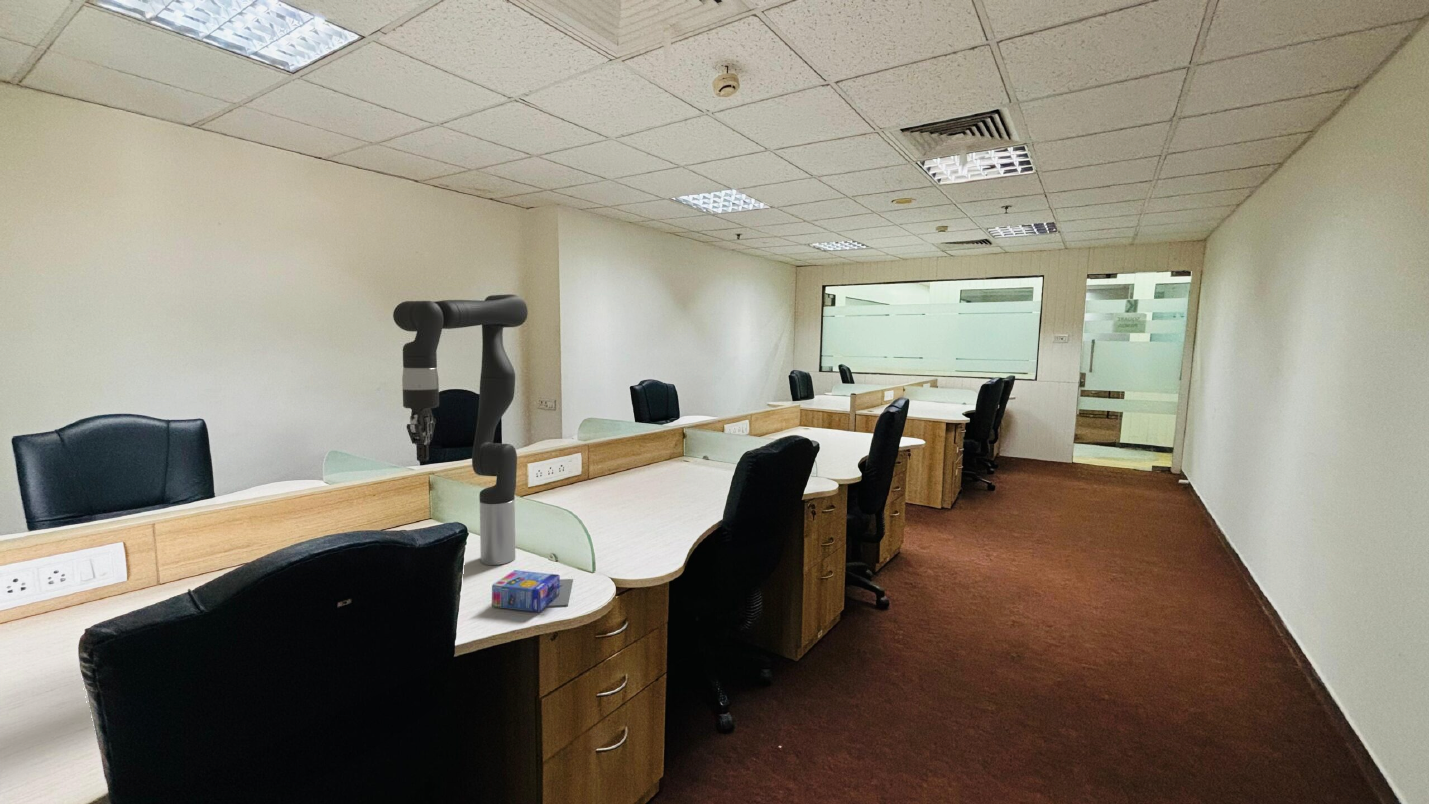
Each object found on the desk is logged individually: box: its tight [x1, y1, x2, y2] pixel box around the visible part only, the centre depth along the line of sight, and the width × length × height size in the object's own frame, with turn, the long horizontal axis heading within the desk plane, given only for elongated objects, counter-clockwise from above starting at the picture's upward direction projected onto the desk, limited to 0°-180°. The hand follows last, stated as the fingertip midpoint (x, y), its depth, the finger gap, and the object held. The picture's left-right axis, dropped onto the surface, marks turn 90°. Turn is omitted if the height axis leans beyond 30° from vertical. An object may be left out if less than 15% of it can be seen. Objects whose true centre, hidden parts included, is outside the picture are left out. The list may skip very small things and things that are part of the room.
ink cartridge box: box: [491, 569, 563, 613], centre depth 132 cm, size 10×6×14 cm
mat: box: [545, 578, 574, 608], centre depth 137 cm, size 15×12×1 cm
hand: (422, 460), depth 132 cm, fingers closed
